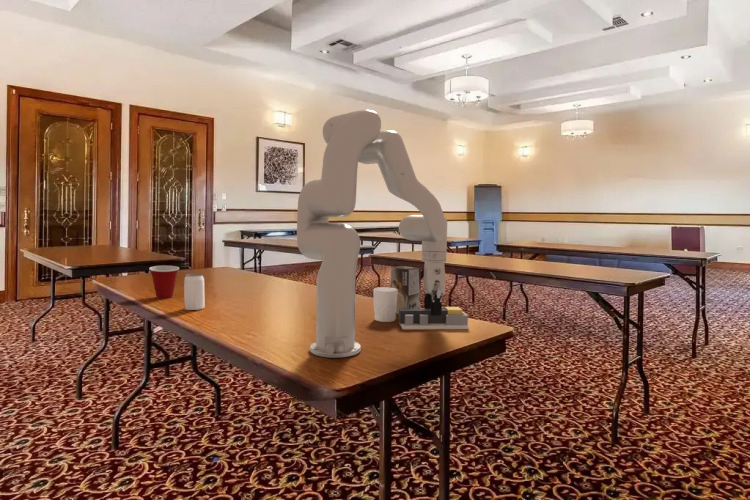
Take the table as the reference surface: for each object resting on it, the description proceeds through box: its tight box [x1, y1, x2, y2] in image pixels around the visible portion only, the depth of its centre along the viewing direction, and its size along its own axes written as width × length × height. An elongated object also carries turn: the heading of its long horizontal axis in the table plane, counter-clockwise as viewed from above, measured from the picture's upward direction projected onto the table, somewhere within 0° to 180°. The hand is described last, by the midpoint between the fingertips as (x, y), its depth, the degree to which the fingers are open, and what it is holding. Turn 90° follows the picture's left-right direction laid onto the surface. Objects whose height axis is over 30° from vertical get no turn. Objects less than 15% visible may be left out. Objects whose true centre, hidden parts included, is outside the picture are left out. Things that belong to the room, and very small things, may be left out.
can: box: [183, 273, 206, 311], centre depth 157 cm, size 6×6×12 cm
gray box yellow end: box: [398, 306, 463, 325], centre depth 139 cm, size 19×4×4 cm, turn 95°
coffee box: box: [390, 265, 422, 315], centre depth 156 cm, size 9×6×16 cm
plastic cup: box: [149, 265, 180, 299], centre depth 178 cm, size 11×11×12 cm
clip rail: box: [398, 310, 470, 330], centre depth 140 cm, size 9×20×4 cm, turn 95°
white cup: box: [373, 286, 398, 323], centre depth 146 cm, size 8×8×10 cm
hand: (432, 311), depth 140 cm, fingers open, 9 cm apart
